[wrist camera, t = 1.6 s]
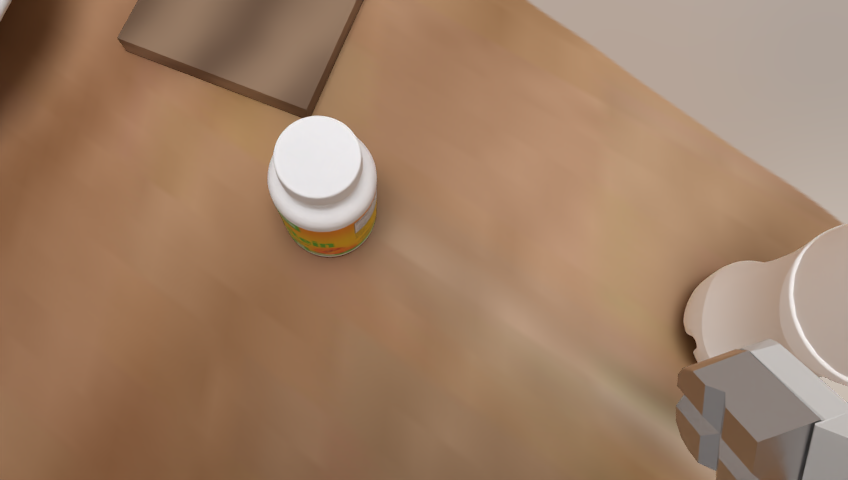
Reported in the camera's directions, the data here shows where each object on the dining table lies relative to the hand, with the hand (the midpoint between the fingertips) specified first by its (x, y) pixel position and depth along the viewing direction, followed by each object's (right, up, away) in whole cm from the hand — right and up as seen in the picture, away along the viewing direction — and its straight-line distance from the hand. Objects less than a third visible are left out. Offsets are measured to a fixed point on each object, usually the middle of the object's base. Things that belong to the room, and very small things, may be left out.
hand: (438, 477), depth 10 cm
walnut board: (-11, +18, +32) cm, 38 cm away
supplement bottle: (-6, +5, +29) cm, 30 cm away
